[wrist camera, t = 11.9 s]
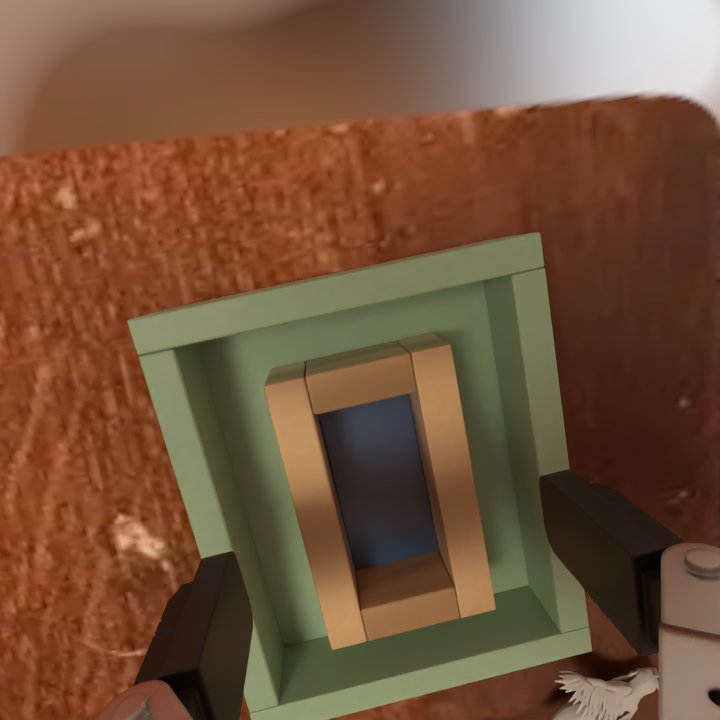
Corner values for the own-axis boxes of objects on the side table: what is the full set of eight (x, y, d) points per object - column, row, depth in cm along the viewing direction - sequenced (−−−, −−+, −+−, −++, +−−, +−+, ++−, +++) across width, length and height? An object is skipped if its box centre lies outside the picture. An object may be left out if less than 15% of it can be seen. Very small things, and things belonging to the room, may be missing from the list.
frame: (270, 367, 16) (262, 386, 13) (431, 331, 16) (451, 343, 14) (329, 600, 18) (331, 651, 15) (472, 564, 18) (496, 610, 16)
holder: (161, 309, 16) (125, 320, 13) (499, 237, 16) (541, 231, 13) (266, 662, 19) (256, 739, 16) (548, 590, 19) (592, 651, 16)
